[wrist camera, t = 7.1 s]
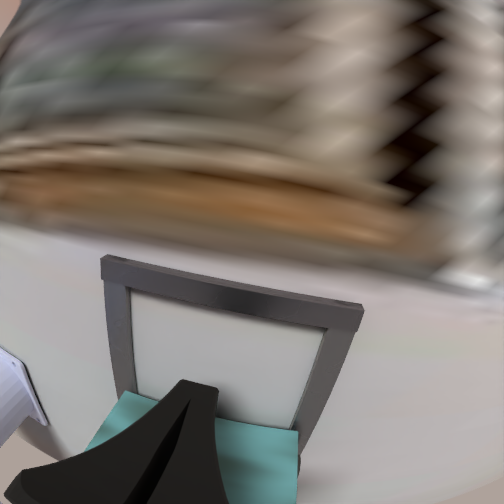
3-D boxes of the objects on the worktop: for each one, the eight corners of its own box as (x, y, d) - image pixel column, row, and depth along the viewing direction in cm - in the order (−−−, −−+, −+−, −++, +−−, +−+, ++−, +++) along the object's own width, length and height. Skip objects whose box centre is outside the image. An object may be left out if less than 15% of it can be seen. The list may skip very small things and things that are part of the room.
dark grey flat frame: (140, 473, 18) (137, 478, 17) (107, 254, 12) (100, 258, 12) (269, 504, 17) (268, 509, 17) (361, 304, 11) (364, 310, 11)
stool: (140, 482, 17) (121, 524, 13) (116, 386, 14) (71, 448, 9) (264, 512, 17) (257, 559, 12) (309, 432, 13) (309, 513, 8)
